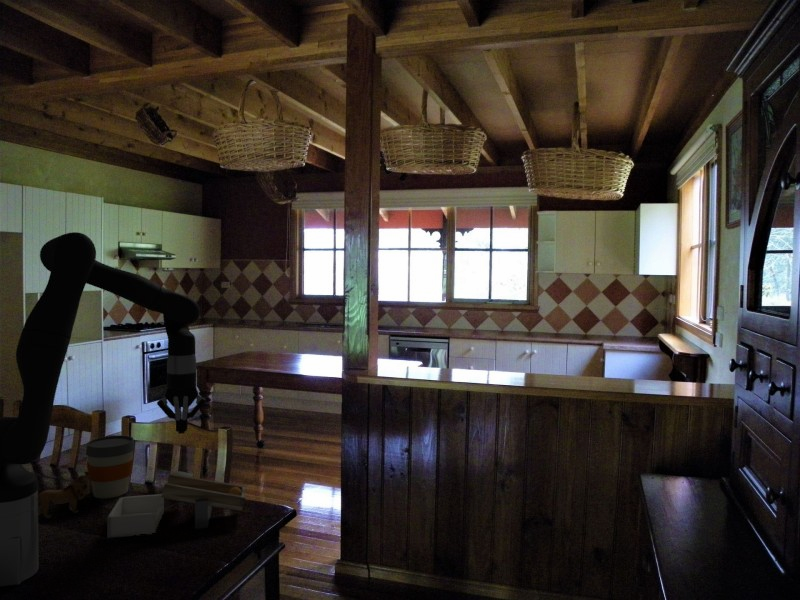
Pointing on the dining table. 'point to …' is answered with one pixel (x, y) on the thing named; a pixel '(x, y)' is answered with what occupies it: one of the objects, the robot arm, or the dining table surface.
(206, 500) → the fulcrum
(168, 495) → the lever
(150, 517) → the tray
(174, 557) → the dining table surface
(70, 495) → the lion figurine
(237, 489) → the ball
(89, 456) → the reusable coffee cup
